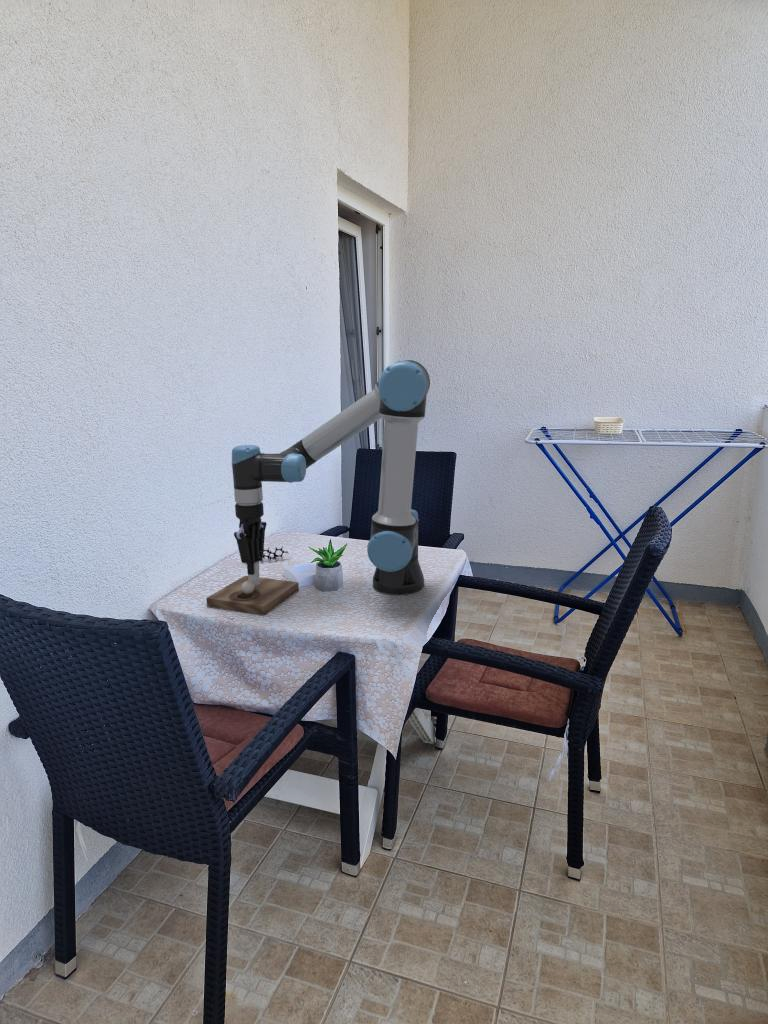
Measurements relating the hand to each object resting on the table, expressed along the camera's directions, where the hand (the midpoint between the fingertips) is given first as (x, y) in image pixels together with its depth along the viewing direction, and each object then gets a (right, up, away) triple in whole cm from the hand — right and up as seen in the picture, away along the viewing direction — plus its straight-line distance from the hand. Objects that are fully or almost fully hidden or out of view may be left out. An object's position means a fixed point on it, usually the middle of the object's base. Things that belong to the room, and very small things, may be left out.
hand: (254, 584), depth 183 cm
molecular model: (-2, +4, +32) cm, 32 cm away
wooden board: (0, -4, 0) cm, 4 cm away
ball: (-1, -1, -3) cm, 3 cm away
